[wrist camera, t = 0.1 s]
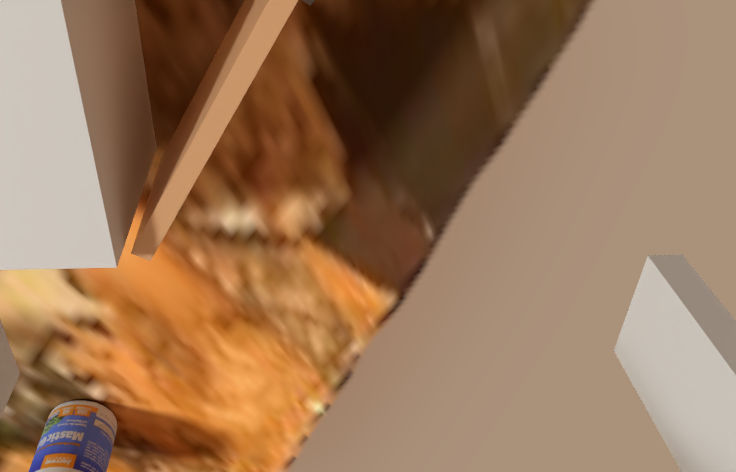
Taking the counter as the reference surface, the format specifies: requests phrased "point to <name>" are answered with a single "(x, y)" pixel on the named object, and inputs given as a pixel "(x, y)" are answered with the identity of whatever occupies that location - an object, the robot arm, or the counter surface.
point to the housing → (71, 131)
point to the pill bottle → (76, 439)
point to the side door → (210, 114)
